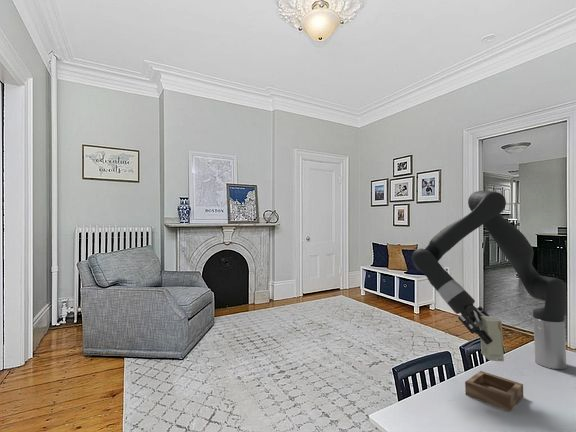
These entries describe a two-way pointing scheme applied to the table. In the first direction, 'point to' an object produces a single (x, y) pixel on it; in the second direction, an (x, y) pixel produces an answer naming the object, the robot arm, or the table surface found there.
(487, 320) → the skincare box
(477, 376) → the block
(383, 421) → the table surface
